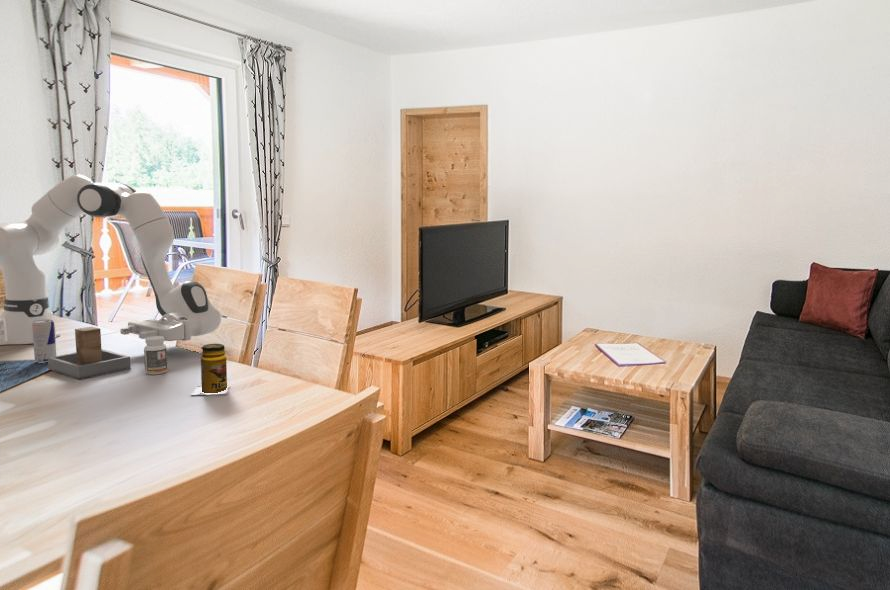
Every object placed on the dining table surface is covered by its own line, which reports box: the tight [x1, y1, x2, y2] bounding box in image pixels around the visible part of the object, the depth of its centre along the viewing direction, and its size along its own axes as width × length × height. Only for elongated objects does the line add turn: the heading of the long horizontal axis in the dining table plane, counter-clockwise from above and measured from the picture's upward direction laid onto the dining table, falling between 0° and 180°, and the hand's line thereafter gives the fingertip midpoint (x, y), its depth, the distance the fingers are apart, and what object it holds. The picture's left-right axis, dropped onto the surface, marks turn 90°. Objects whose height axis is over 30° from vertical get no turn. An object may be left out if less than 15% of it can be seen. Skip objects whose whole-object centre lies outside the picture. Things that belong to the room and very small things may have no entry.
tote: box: [47, 348, 132, 381], centre depth 167 cm, size 16×14×4 cm
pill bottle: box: [143, 336, 169, 376], centre depth 165 cm, size 6×6×10 cm
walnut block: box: [74, 326, 102, 366], centre depth 166 cm, size 4×4×11 cm
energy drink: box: [32, 320, 57, 364], centre depth 173 cm, size 5×5×12 cm
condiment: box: [198, 343, 228, 393], centre depth 150 cm, size 7×8×12 cm
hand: (130, 333), depth 176 cm, fingers open, 8 cm apart
